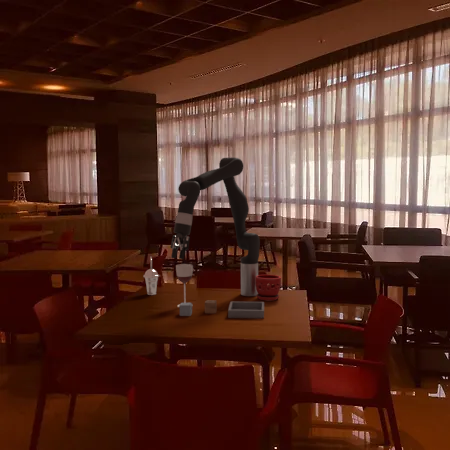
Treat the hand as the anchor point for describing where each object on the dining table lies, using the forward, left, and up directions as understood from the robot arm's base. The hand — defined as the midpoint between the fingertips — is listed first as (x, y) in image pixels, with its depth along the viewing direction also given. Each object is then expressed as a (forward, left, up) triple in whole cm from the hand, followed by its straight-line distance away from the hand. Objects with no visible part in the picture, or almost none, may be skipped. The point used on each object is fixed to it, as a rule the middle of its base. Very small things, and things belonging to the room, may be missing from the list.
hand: (177, 258), depth 234 cm
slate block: (-1, +3, -26) cm, 27 cm away
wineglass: (-17, 0, -26) cm, 31 cm away
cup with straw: (-41, -22, -26) cm, 53 cm away
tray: (-4, +31, -26) cm, 41 cm away
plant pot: (-33, +41, -26) cm, 59 cm away
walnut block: (-6, +14, -26) cm, 31 cm away
